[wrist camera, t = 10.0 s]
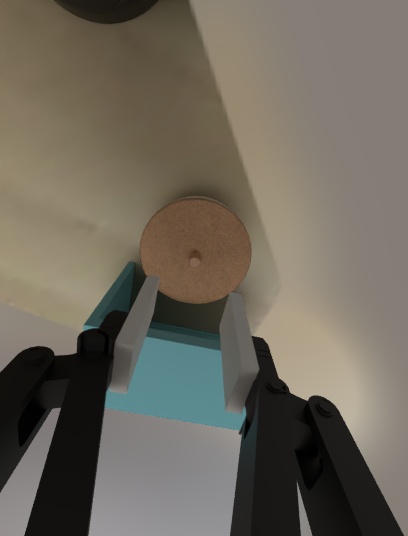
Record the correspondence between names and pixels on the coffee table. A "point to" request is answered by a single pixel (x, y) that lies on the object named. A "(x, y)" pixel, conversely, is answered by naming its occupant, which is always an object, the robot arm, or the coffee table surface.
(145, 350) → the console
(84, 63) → the coffee table surface
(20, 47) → the coffee table surface
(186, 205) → the lidded jar
